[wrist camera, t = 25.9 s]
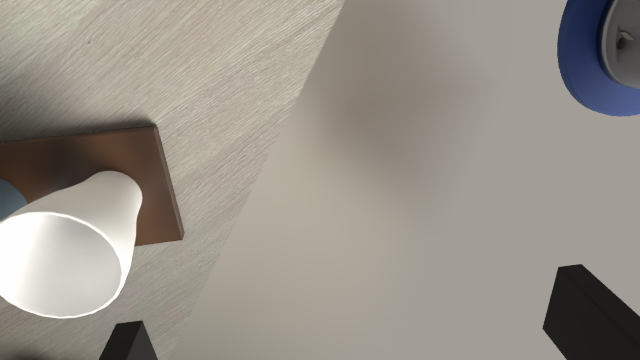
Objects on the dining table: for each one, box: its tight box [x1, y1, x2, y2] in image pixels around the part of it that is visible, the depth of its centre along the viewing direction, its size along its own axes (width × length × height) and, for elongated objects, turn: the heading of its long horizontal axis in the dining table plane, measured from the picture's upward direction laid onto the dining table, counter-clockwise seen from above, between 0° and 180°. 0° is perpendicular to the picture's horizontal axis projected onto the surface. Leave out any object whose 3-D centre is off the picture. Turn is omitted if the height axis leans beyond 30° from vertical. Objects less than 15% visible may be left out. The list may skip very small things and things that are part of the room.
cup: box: [0, 171, 142, 318], centre depth 37 cm, size 10×10×14 cm
